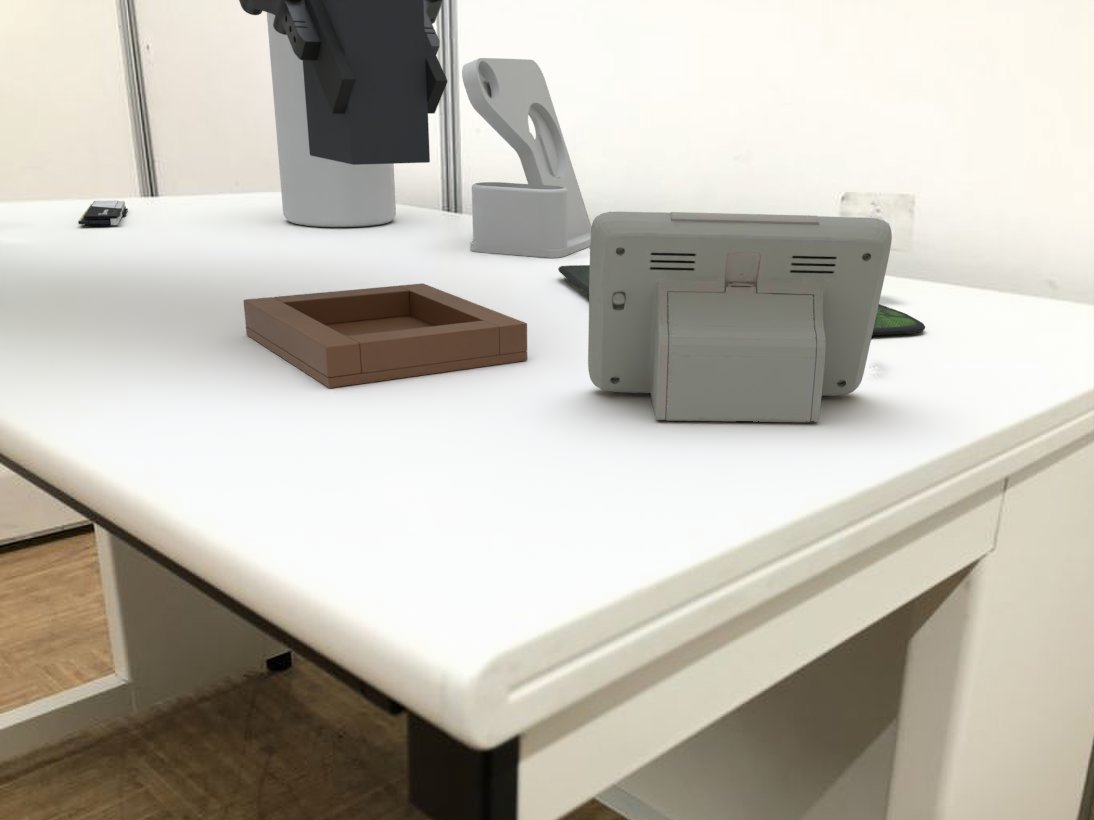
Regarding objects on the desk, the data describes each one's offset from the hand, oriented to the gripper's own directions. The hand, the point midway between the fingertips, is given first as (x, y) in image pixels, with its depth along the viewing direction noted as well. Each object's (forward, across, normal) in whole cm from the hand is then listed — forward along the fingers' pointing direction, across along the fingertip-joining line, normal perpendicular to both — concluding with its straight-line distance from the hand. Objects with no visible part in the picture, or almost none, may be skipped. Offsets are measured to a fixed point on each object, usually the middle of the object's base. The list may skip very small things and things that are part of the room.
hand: (390, 96), depth 64 cm
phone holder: (-15, -32, -37) cm, 51 cm away
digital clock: (+24, -12, +2) cm, 27 cm away
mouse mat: (+9, -30, -14) cm, 34 cm away
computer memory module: (-40, +3, -62) cm, 74 cm away
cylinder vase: (-32, -20, -54) cm, 66 cm away
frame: (+9, 0, -13) cm, 16 cm away
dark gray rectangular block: (0, 0, -5) cm, 5 cm away
